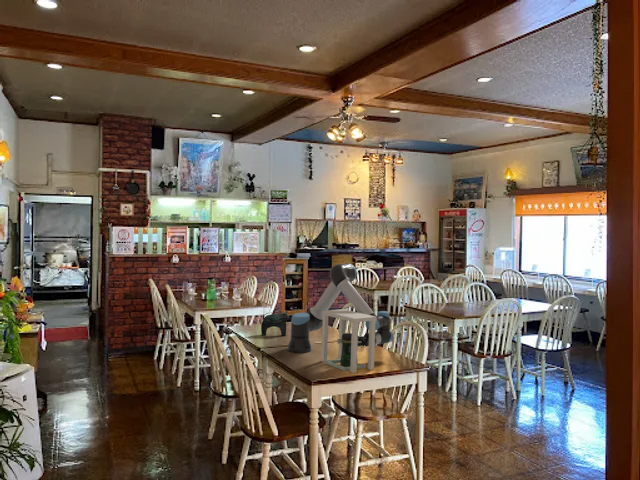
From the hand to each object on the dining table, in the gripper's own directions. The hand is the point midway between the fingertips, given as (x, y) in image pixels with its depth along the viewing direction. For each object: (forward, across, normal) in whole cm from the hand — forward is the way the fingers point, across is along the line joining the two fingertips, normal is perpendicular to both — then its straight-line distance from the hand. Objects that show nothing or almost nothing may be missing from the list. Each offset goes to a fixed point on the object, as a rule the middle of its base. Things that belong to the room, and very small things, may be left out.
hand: (344, 343), depth 296 cm
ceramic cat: (-9, +91, -10) cm, 92 cm away
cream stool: (-2, +1, -13) cm, 13 cm away
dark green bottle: (-3, 0, -14) cm, 14 cm away
